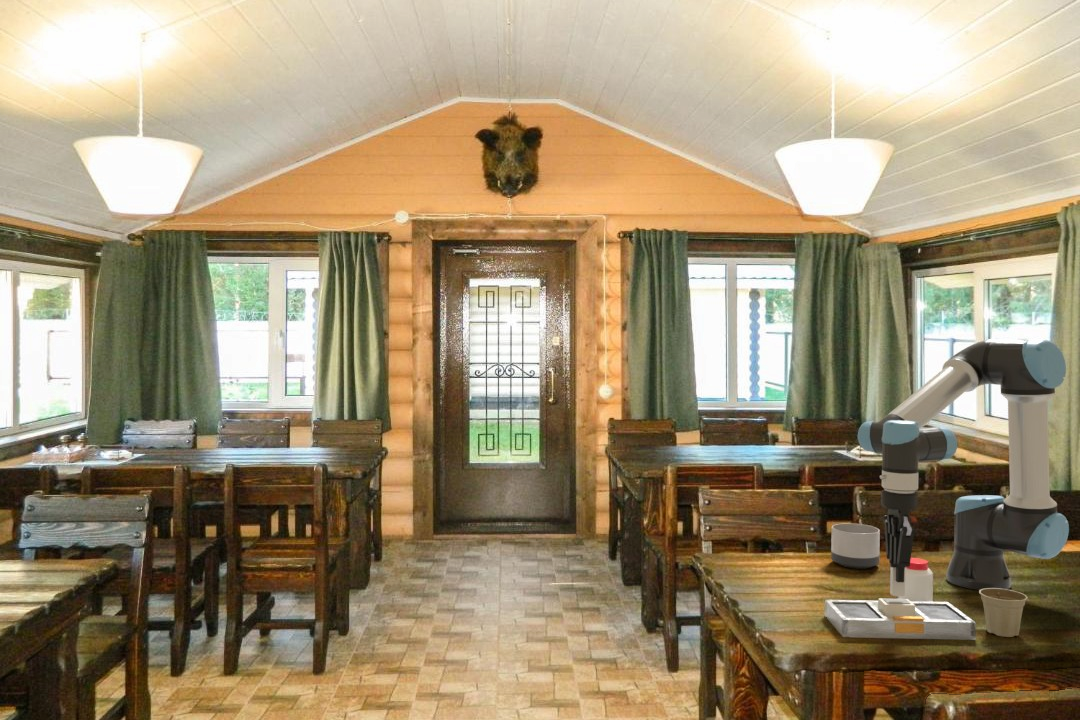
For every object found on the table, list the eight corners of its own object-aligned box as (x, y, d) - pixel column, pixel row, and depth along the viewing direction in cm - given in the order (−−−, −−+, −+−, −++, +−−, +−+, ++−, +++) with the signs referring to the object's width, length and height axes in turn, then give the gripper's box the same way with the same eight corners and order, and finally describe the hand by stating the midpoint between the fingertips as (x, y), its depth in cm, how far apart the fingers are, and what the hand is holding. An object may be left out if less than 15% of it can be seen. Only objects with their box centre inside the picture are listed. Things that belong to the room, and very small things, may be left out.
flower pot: (969, 625, 192) (970, 588, 191) (1008, 624, 192) (1009, 587, 192) (995, 641, 182) (995, 601, 182) (1036, 639, 183) (1037, 600, 183)
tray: (947, 618, 197) (947, 599, 197) (975, 640, 183) (976, 620, 182) (824, 615, 198) (825, 597, 198) (843, 637, 184) (843, 617, 184)
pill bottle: (930, 612, 201) (930, 566, 200) (895, 607, 205) (895, 561, 204) (934, 604, 207) (935, 559, 207) (900, 598, 211) (901, 554, 211)
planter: (822, 564, 242) (823, 528, 242) (844, 556, 251) (845, 521, 251) (865, 573, 233) (866, 536, 233) (887, 565, 242) (887, 528, 241)
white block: (907, 620, 193) (907, 598, 192) (914, 627, 188) (915, 604, 188) (878, 620, 193) (878, 597, 193) (884, 626, 188) (885, 603, 188)
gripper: (872, 484, 196) (870, 586, 197) (892, 495, 183) (890, 603, 184) (905, 485, 196) (903, 586, 197) (928, 496, 183) (926, 604, 184)
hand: (897, 594), depth 190 cm, fingers closed
